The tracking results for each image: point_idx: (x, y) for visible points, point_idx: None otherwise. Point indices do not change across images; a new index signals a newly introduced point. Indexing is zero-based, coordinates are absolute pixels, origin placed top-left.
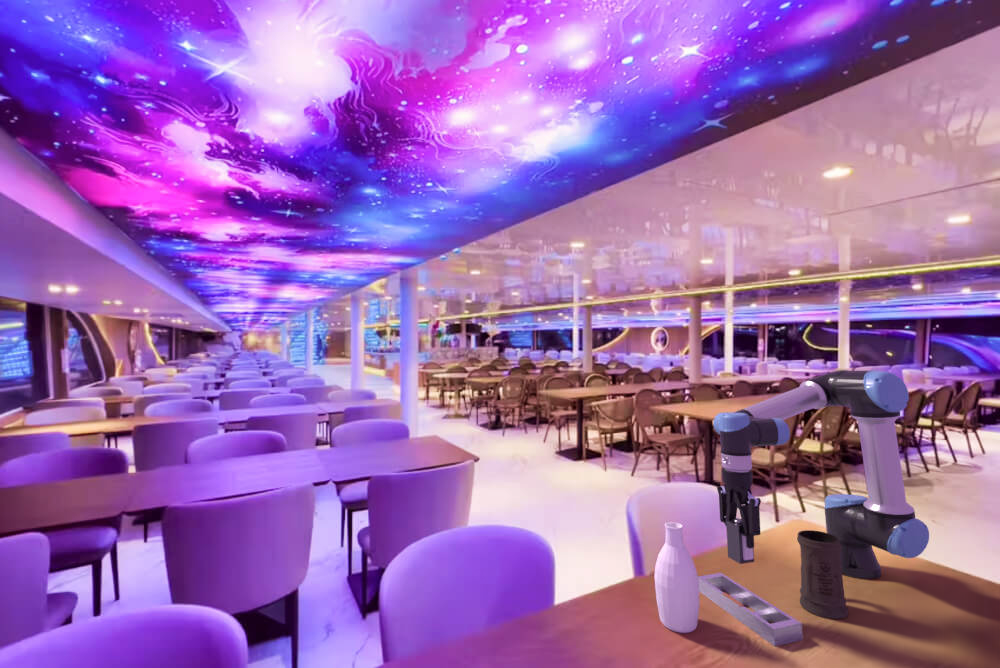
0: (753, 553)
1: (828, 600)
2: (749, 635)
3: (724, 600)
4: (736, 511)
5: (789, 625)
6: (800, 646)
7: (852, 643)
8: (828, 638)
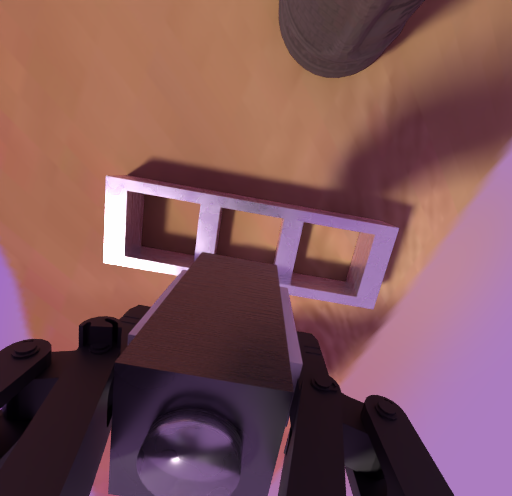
0: (278, 279)
1: (397, 31)
2: (310, 302)
3: None
4: (61, 491)
5: (387, 264)
6: None
7: (456, 127)
8: (413, 159)
